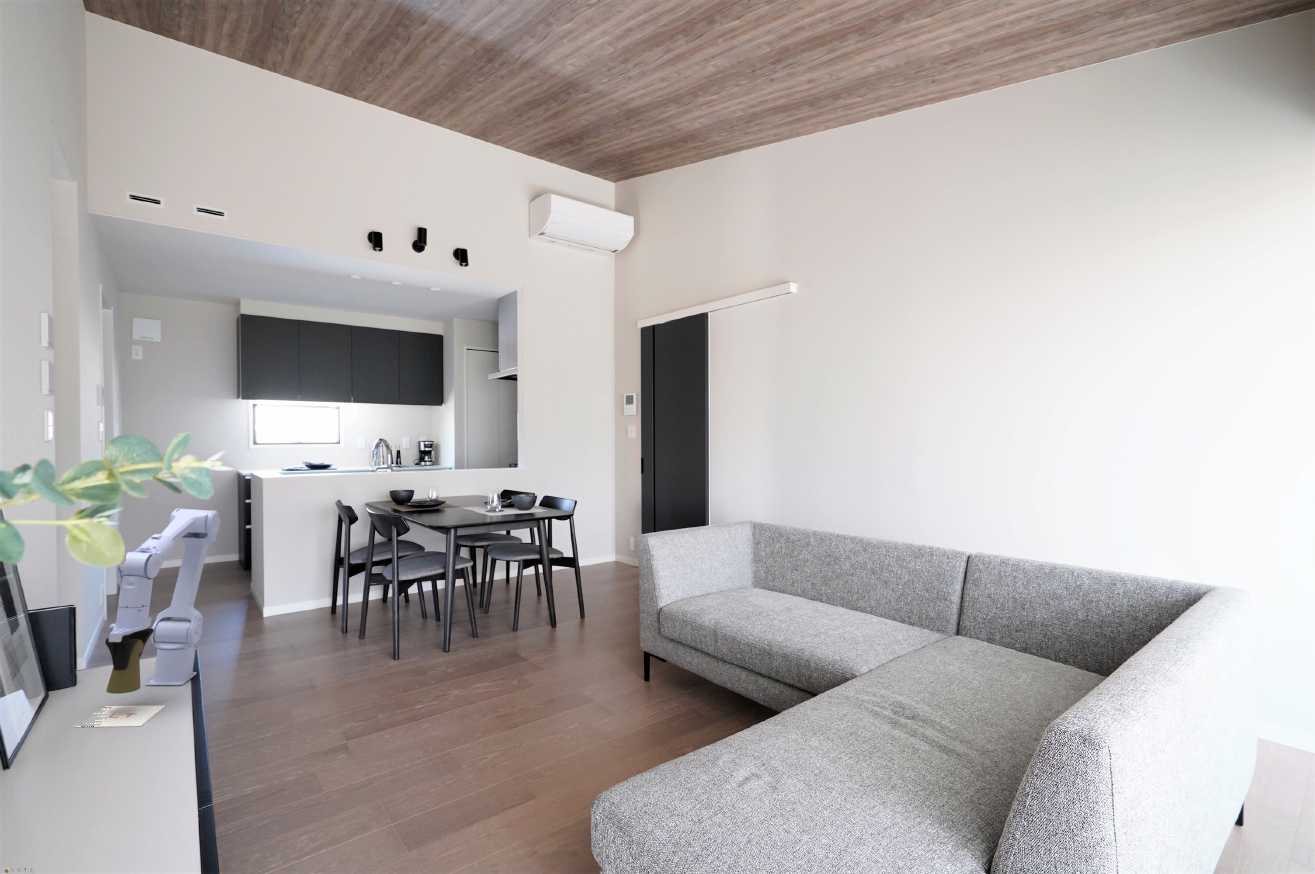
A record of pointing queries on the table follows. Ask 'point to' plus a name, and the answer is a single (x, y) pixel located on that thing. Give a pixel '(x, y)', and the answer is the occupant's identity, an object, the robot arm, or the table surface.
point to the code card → (127, 716)
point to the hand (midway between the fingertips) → (126, 665)
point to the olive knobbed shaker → (127, 674)
